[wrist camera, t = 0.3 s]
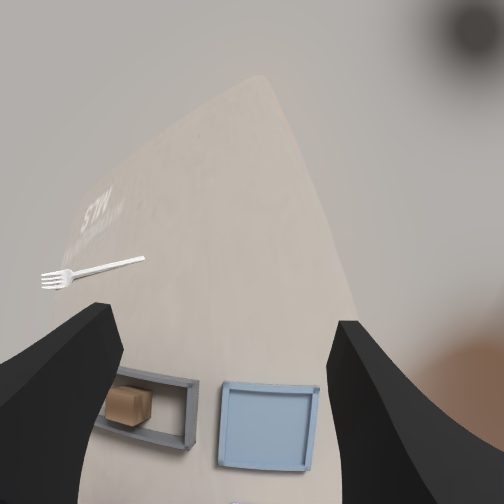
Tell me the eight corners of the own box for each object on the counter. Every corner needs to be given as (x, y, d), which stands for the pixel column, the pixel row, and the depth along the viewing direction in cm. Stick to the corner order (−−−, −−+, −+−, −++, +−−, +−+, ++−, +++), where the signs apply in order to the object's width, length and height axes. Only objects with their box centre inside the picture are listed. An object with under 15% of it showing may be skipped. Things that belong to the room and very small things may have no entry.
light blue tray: (308, 466, 31) (310, 470, 30) (219, 461, 32) (217, 465, 31) (317, 385, 35) (319, 387, 34) (225, 380, 36) (223, 382, 35)
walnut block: (151, 417, 35) (132, 426, 29) (125, 410, 35) (105, 418, 29) (152, 390, 36) (133, 396, 30) (127, 385, 36) (106, 389, 31)
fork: (148, 269, 42) (143, 266, 40) (47, 292, 42) (41, 290, 40) (145, 249, 43) (141, 245, 41) (47, 274, 43) (40, 271, 41)
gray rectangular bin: (195, 442, 33) (189, 450, 30) (88, 415, 35) (76, 418, 32) (199, 380, 36) (192, 383, 33) (90, 359, 38) (77, 358, 34)
